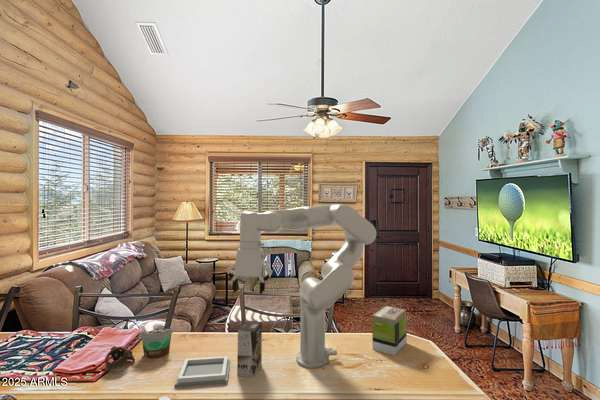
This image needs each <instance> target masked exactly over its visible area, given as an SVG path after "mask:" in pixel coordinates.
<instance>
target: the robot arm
mask: <svg viewBox="0 0 600 400" xmlns="http://www.w3.org/2000/svg"><path fill="white" fill-rule="evenodd" d="M335 226H338V227H340V228H341V229H343V230H344V242H343V245H342V246H341V248H339V250H338V251H337V252H336V253H335V254H334V255H333V256H332V257H331V258H329V260H327V261H326V262H325V263H324V264H323V265H322V267H321V271H320V273H321V277H322V280H320V279H319V278H317V277H314V276H312V277H311V276H310V277H307V278H304V280H303V281H302V282H301V283H300V286H299V291H298V293H299V303H300V304H299V306H300V331H299V332H300V338H299V340H300V342H299V344H300V347H299V351H300V352H298V353H297V354H296V358H295V359H296V363H297V364H298V365H300V366H301V367H305V368H307V369H308V368H309V369H311V368H312V369H319V368H322V367H325V366H326V365H328V364H329V361H330V356H338V350H337V349H333V348H332V347H328V348H327V347H326V310H328V309H329V308H330V307H332V306H333V305H334V304H335V303H336V302H337V301H338V300H339V299H340V298H341V297H342V296H343V295H344V294H345V293H346V292H347V291H348V290H349V289H350V288H351V286H352V285H353V283H354V279H355V273H354V270H353V268H354V267H355V266H356V265H357V264H358V262H359V261H360V260H361V259H362V256H363V252H364V245H370V244H372V243H373V242H375V240H376V238H377V230H376V227H375V226H374V225H373V223H371V222H370V221H369V220H367V219H366V218H365V217H364V216H362V215H361V214H360V213H359V212H358V211H357V210H355V209H354V208H352V207H351V206H350V205H348V204H345V203H330V204H320V205H309V206H300V207H295V208H288V209H277V210H276V209H274V210H268V211H267V210H266V211H264V212H257V211H243V212H241V213H240V223H239V248H237V251H236V256H235V263H234V264H232V265H230V266H228V267H227V268H225V271H226V273H227V275H228V277H229V278H230V279H231V281H232V290H233V293H236V292H238V291H239V279H238V278H239V277H242V278H244V277H245V278H257V279H259V281H260V282H259V294H260V295H262V294H263V292H265V290H266V282H267V280H268V279H270V277H271V276H272V274H273V272H274V270H273V269H271V268H270V267H268V266H266V265H265V264H264V263H265V261H264V252H263V251H264V250H263V248H262V247H264V246H265V243H264V242H262V241H261V238H262V237H261V235H262V232H266V233H277V232H278V231H280V230H281V229H287V228H288V229H289V228H290V229H291V228H293V229H296V228H297V229H307V230H309V229H316V228H323V227H335ZM233 269H234V272H232V270H233ZM265 272H267V273H266V275H265V276H264V273H265Z"/></svg>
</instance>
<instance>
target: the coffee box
mask: <svg viewBox="0 0 600 400" xmlns="http://www.w3.org/2000/svg"><path fill="white" fill-rule="evenodd" d="M262 333H263V323H262V322H261V321H245V322H244V324H242V326H241V327H239V328H238V329H237V355H236V356H237V358H236V360H237V362H236V365H237V367H236V373H237V374H236V375H237V376H239V377H246V378H252V379H253V378H254V377H255V376H256V374H257V372H258V371H259V369H260V368H261V366H262V363H263V361H262V357H263V356H262V354H263V352H262V351H263V350H262V348H263V347H262V346H263V344H262V343H263V342H262V340H263V335H262Z"/></svg>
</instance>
